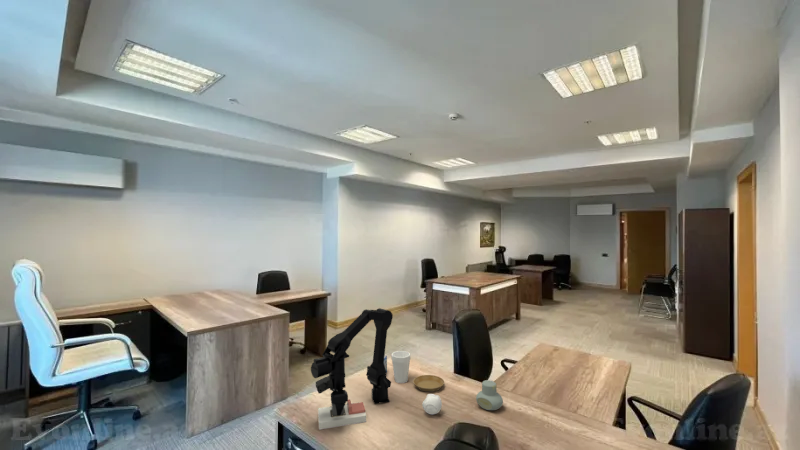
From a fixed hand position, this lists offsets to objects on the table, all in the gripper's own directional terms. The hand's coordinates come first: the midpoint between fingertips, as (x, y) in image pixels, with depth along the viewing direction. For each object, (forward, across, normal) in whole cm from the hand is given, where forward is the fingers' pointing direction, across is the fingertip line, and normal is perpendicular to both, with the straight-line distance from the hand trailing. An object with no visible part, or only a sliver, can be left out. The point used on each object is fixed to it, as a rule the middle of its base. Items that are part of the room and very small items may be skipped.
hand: (337, 409), depth 134 cm
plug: (+4, 0, 0) cm, 4 cm away
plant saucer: (+4, -16, +44) cm, 47 cm away
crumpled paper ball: (+4, +7, +38) cm, 38 cm away
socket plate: (+4, 0, +2) cm, 4 cm away
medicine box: (+4, -36, +26) cm, 44 cm away
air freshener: (+4, +9, +62) cm, 63 cm away
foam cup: (+4, -26, +34) cm, 43 cm away
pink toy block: (+1, 0, +7) cm, 7 cm away
